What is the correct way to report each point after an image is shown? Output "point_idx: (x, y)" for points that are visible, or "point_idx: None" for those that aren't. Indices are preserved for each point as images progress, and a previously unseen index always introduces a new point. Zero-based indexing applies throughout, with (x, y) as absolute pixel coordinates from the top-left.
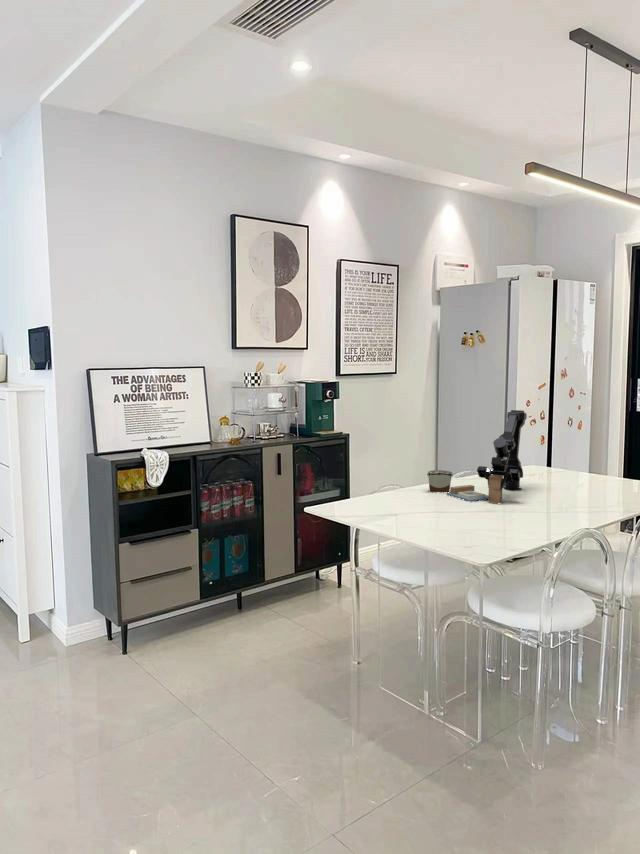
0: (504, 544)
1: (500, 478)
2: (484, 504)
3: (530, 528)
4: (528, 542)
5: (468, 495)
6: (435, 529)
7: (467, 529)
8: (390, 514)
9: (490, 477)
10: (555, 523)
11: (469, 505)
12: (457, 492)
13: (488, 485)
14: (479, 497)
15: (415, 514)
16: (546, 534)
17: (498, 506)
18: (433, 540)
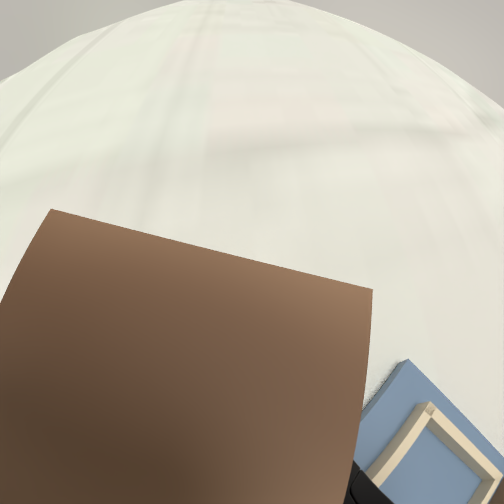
0: (211, 3)
1: (45, 252)
2: None
3: (127, 43)
4: (166, 9)
5: (440, 417)
6: (351, 38)
7: (288, 31)
8: (489, 124)
9: (321, 290)
10: (33, 86)
11: (376, 258)
12: (498, 500)
13: None
14: None
15: (456, 117)
16: (110, 31)
17: None
18: (328, 15)
